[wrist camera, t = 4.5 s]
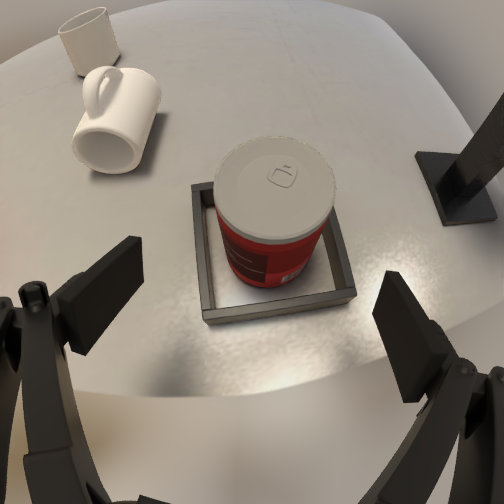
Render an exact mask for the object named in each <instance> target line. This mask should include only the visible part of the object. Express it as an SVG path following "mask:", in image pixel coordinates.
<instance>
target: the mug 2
mask: <svg viewBox="0 0 504 504" xmlns="http://www.w3.org/2000/svg"><path fill="white" fill-rule="evenodd" d="M103 76H105V78H104V80H103V82H102V83H101V80H102V78H103ZM100 84H101V85H100ZM82 92H83V101H84V105H85V108H86V112H85V114H84V116H83V117H82V119H81V121H80V123H79V125H78V127H77V129H76V131H75V134H74V136H73V138H72V142H71V146H72V150H73V153H74V154H75V156H76V157H77V158H78V160H79V161H80V162H82V163H83V164H84V165H86V166H87V167H89V168H91V169H93V170H96V171H99V172H103V173H108V174H121V173H126V172H129V171H131V170H133V169H134V168H136V167H137V166H138V164H139V163H140V161H141V158H142V154H143V151H144V148H145V145H146V141H147V138H148V135H149V132H150V129H151V126H152V123H153V120H154V118H155V115H156V112H157V109H158V106H159V104H160V101H161V96H162V94H161V88H160V86H159V84H158V82H157V81H156V80H155V79H154V78H153V77H152V76H151V75H150V74H148V73H146V72H145V71H142V70H139V69H135V68H121V69H118V68H116V67H113V66H103V67H99V68H96V69H94V70H92V71H91V72H90V73H88V75H87V76H86V77H85V79H84V82H83V90H82Z"/></svg>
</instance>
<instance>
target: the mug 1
mask: <svg viewBox="0 0 504 504" xmlns="http://www.w3.org/2000/svg"><path fill="white" fill-rule="evenodd" d="M58 33H59V36H60V38H61V40H62V43H63V45H64V47H65V49H66V52H67V54H68V56H69V58H70V61H71V63H72V65H73V67H74V69H75V71H76V73H77V74H78V75H80V76H84V77H86V76H87V75H88V73H90V72H91V71H92V70H94V69H96V68H99V67H103V66H112V65H113V64H114V63H115V62H116V60H117V58H118V56H119V48H118V45H117V42H116V39H115V35H114V32H113V29H112V26H111V23H110V20H109V16H108V13H107V10H106V8H105V7H99V8H95V9H91V10H88V11H86V12H83V13H81V14H79V15H77V16H75V17H73V18H72V19H70V20H69V21H67V22H66V23H65V24H63V25H62V26H61V27H60V28H59V30H58Z"/></svg>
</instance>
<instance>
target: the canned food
mask: <svg viewBox="0 0 504 504" xmlns="http://www.w3.org/2000/svg"><path fill="white" fill-rule="evenodd" d="M213 189H214V192H213V194H214V201H215V207H216V213H217V217H218V222H219V226H220V230H221V234H222V239H223V243H224V247H225V251H226V255H227V259H228V262H229V264H230V266H231V268H232V269H233V271H234V272H235V273H236V274H237V275H238V276H239V277H240V278H241V279H242V280H244V281H245V282H247V283H249V284H252V285H254V286H258V287H264V288H266V287H277V286H281V285H283V284H286V283H288V282H290V281H291V280H293V279H294V278H296V277H297V276H298V275H299V274H300V272H301V271H302V270H303V268H304V267H305V265H306V264H307V262H308V260H309V258H310V256H311V254H312V252H313V249H314V247H315V245H316V243H317V241H318V239H319V237H320V235H321V233H322V231H323V229H324V227H325V225H326V222H327V220H328V217H329V215H330V213H331V210H332V207H333V204H334V199H335V193H336V184H335V177H334V175H333V172H332V169H331V167H330V166H329V164H328V163H327V161H326V160H325V158H324V157H323V156H322V155H321V154H320V153H319V152H318V151H316V150H315V149H314V148H312V147H311V146H309V145H307V144H305V143H303V142H301V141H298V140H295V139H292V138H288V137H281V136H267V137H260V138H256V139H253V140H250V141H247V142H245V143H243V144H241V145H239V146H238V147H236V148H235V149H233V150H232V151H231V152H230V153H229V154H228V155H227V156H226V157H225V158H224V159H223V161H222V162H221V164H220V165H219V167H218V169H217V172H216V175H215V178H214V187H213Z"/></svg>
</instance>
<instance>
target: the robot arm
mask: <svg viewBox="0 0 504 504" xmlns="http://www.w3.org/2000/svg"><path fill="white" fill-rule="evenodd" d="M143 282H144V275H143V259H142V238H141V237H136V236H128V237H127V238H126V239H124V240H123V241H122V242H120V243H119V244H118V245H117V246H115V247H114V248H113V249H112V250H110V251H109V252H108V253H107V254H106V255H104V256H103V257H102V258H101V259H100V260H98V261H97V262H96V263H95V264H94V265H92V266H91V267H90V268H89V269H88V270H86V271H85V272H81V273H79V274H76V275H74V276H73V277H72V278H70V279H69V280H68V281H67V282H66V283H64V284H63V285H62V287H60V288H59V289H58V290H56V291H55V292H54V293H53V294H52V295H51V296H50V297H49V295H48V290H47V286H46V284H45V283H44V282H42V281H32V282H28V283H26V284H24V285H23V286H21V287H20V288H19V291H18V293H19V297H20V300H21V303H22V307H23V308H17V307H13V303H12V301H11V299H10V298H9V297H0V504H4V501H5V495H6V483H7V482H6V481H7V466H8V453H9V444H10V436H11V430H12V423H13V417H14V411H15V405H16V401H17V396H18V391H19V386H20V382H21V380H22V398H23V410H24V420H25V428H26V435H27V443H28V449H29V452H28V454H26V455H24V457H23V465H24V470H25V475H26V480H27V484H28V489H29V493H30V497H31V501H32V504H170V503H166V502H162V501H158V500H155V499H152V498H149V497H146V496H142V495H139V498H138V501H119V502H118V501H117V502H111V499H110V498H109V496H108V494H107V492H106V491H105V489H104V488H103V485H102V483H101V481H100V478H99V476H98V473H97V470H96V468H95V465H94V462H93V459H92V456H91V453H90V451H89V447H88V445H87V441H86V438H85V435H84V431H83V428H82V425H81V421H80V417H79V414H78V410H77V405H76V402H75V397H74V393H73V388H72V384H71V379H70V374H69V368H68V363H67V357H66V352H65V349H64V345H65V344H66V343H67V342H69V345H70V348H71V351H73V352H75V353H78V354H81V355H84V356H86V355H87V353H88V352H89V351H90V349H91V348H92V347H93V345H94V344H95V343H96V341H97V340H98V339H99V338H100V336H101V335H102V334H103V332H104V331H105V330H106V328H107V327H108V326H109V325H110V323H111V322H112V321H113V320H114V318H115V317H116V316H117V314H118V313H119V312H120V311H121V309H122V308H123V307H124V306H125V304H126V303H127V302H128V301H129V300H130V298H131V297H132V296H133V295H134V293H135V292H136V291H137V290H138V288H139V287H140V286H141V285H142V284H143ZM372 315H373V317H374V320H375V323H376V325H377V328H378V330H379V333H380V336H381V338H382V341H383V344H384V347H385V349H386V352H387V355H388V357H389V361H390V363H391V366H392V369H393V372H394V375H395V378H396V381H397V384H398V387H399V390H400V393H401V397H402V400H403V403H414V402H415V403H416V402H419V401H420V399H421V398H422V397H423V395H424V393H426V395H427V398H428V400H427V401H426V403H425V405H424V406H423V407H422V409H421V410H420V411H419V413H418V414H417V419H416V421H415V422H414V424H413V426H412V427H411V429H410V431H409V432H408V434H407V436H406V437H405V439H404V440H403V442H402V444H401V445H400V447H399V449H398V450H397V451H396V453H395V454H394V456H393V457H392V459H391V460H390V462H389V463H388V465H387V466H386V468H385V469H384V470H383V472H382V473H381V475H380V476H379V477H378V479H377V480H376V481H375V483H374V484H373V485H372V486H371V488H370V489H369V490H368V492H367V493H366V494H365V495H364V497H363V498H362V499H361V500H360V502H359V503H358V504H425V503H426V502H427V500H428V498H429V496H430V495H431V493H432V491H433V489H434V487H435V485H436V483H437V481H438V479H439V477H440V475H441V473H442V471H443V469H444V467H445V464H446V462H447V460H448V458H449V456H450V453H451V451H452V449H453V446H454V444H455V441H456V439H457V436H458V434H459V443H458V452H457V458H456V465H455V471H454V477H453V483H452V487H451V492H450V497H449V501H448V504H504V368H503V367H499V366H496V367H494V368H493V369H492V370H491V372H490V373H489V374H488V375H487V374H482V373H478V372H477V369H476V367H475V365H474V364H473V363H472V362H470V361H469V360H467V359H465V358H459V356H458V355H457V353H456V351H455V349H454V348H453V346H452V344H451V343H450V341H448V338H447V336H446V335H445V333H444V331H443V330H442V328H441V326H440V325H438V324H437V323H436V322H435V321H434V320H429V318H428V317H427V315H426V313H425V312H424V310H423V309H422V307H421V305H420V304H419V302H418V301H417V299H416V298H415V296H414V294H413V293H412V291H411V290H410V288H409V287H408V285H407V284H406V282H405V281H404V279H403V278H402V276H401V275H400V273H399V272H395V271H387V270H386V273H385V276H384V279H383V282H382V285H381V288H380V292H379V295H378V298H377V301H376V304H375V306H374V309H373V312H372ZM459 431H460V433H459Z"/></svg>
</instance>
